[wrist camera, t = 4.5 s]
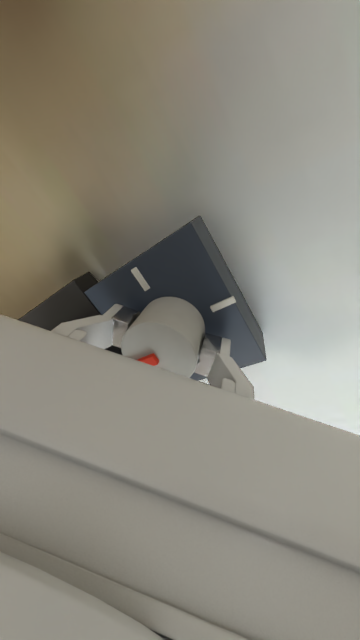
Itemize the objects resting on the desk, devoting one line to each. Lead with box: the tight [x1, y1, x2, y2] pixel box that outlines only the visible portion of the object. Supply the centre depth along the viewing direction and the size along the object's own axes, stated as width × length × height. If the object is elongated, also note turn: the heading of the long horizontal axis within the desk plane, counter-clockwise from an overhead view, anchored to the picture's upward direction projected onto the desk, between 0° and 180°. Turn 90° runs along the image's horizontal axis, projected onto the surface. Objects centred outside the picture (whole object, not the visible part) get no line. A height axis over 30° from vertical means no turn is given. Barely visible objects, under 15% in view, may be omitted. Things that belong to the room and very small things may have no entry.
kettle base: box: [19, 272, 122, 355], centre depth 21 cm, size 17×11×4 cm, turn 123°
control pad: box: [84, 216, 266, 381], centre depth 15 cm, size 8×9×3 cm
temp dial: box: [121, 297, 205, 378], centre depth 13 cm, size 4×4×3 cm
